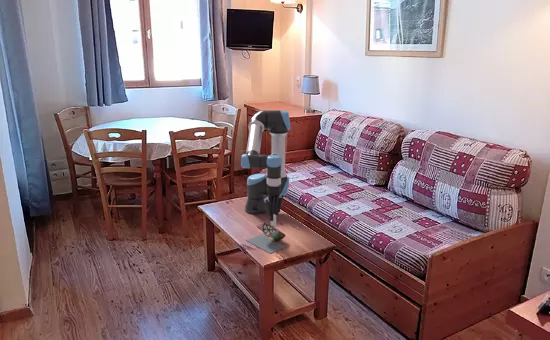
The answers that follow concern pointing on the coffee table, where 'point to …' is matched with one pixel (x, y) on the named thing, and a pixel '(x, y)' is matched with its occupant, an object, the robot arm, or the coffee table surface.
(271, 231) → the food container
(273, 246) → the mat
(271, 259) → the coffee table surface
